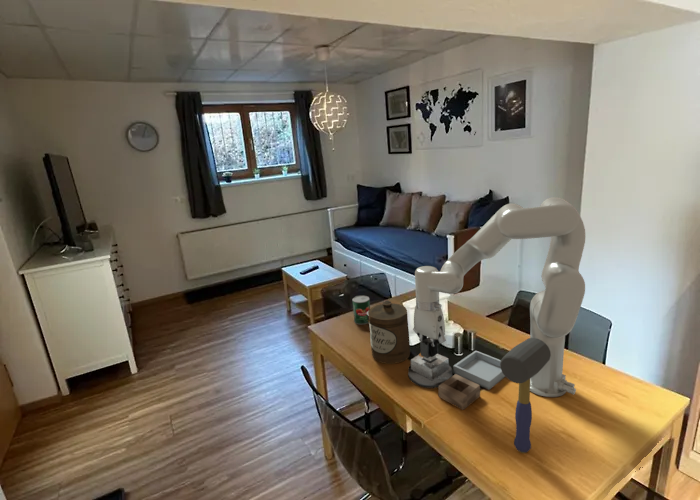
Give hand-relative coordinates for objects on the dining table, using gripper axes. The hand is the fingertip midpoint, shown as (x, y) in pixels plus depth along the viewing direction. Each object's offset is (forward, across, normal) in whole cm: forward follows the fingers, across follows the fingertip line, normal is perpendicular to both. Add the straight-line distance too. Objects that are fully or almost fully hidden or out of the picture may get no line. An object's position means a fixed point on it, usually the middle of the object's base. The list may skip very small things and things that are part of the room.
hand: (429, 352), depth 132 cm
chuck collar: (+6, 0, 0) cm, 6 cm away
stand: (+9, -14, +3) cm, 17 cm away
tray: (+9, -12, -13) cm, 20 cm away
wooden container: (+9, +20, -1) cm, 22 cm away
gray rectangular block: (+5, 0, 0) cm, 5 cm away
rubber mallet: (+9, -38, +10) cm, 40 cm away
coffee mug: (+9, +36, -10) cm, 38 cm away
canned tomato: (+9, +50, -13) cm, 53 cm away
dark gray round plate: (+9, 0, 0) cm, 9 cm away
